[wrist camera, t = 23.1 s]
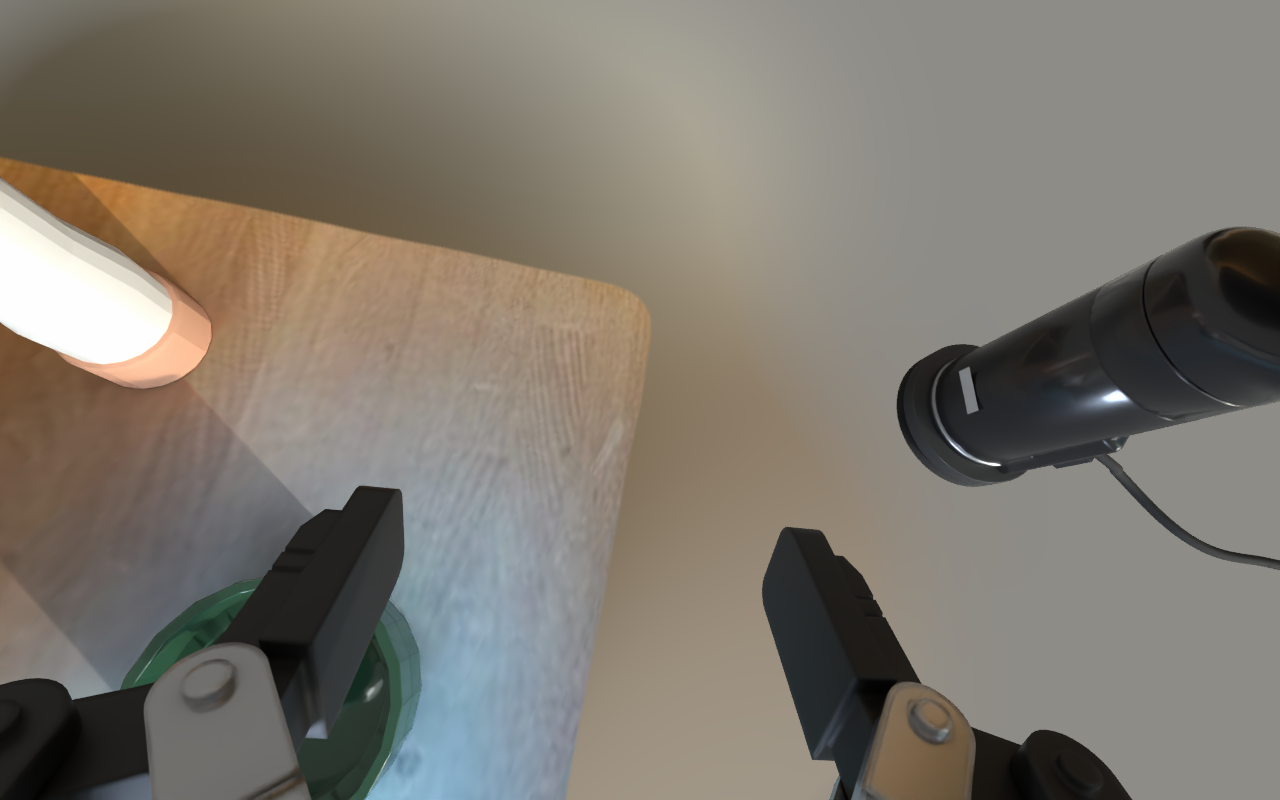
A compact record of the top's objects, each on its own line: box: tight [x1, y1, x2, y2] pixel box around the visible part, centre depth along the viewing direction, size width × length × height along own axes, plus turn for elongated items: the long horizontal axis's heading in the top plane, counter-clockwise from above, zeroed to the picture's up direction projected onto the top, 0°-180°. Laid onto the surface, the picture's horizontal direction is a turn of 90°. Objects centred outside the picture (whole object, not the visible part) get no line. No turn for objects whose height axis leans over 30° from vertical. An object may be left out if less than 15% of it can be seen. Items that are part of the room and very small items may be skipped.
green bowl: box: [120, 578, 421, 800], centre depth 31 cm, size 14×14×6 cm
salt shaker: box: [0, 177, 211, 389], centre depth 29 cm, size 7×7×19 cm
